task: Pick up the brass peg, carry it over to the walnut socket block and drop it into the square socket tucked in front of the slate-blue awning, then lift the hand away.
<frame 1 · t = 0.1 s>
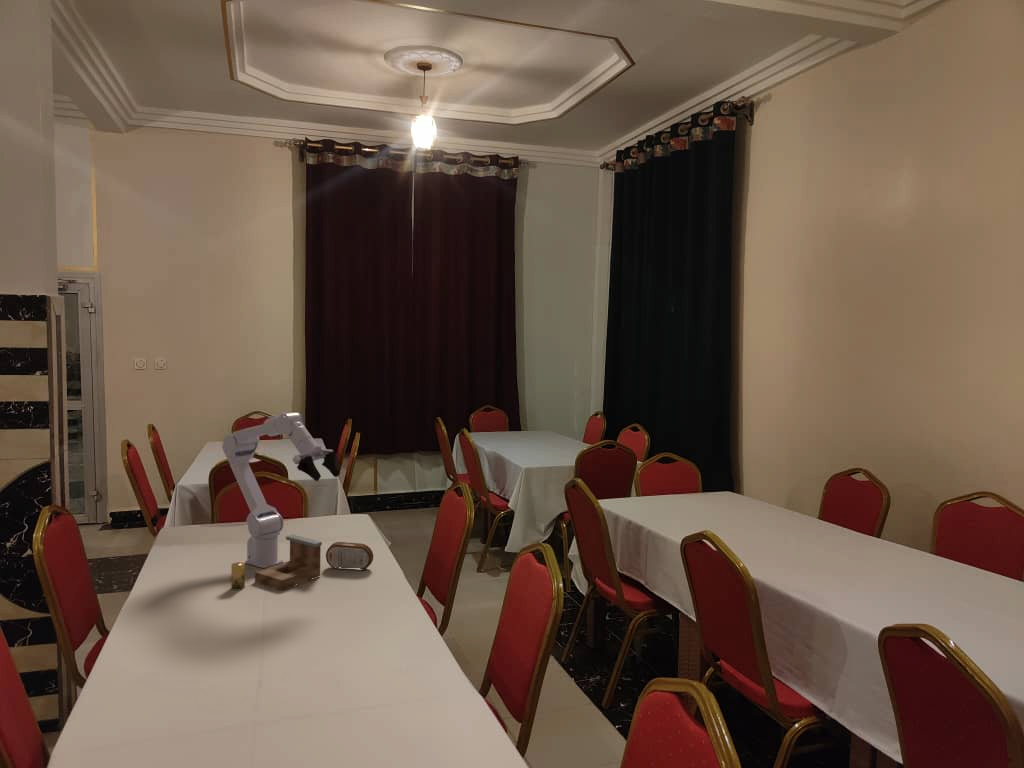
hand: (328, 477, 211), 32 cm above the table, tool tilted 50°, fingers open, 7 cm apart
peg: (237, 587, 206), on the table
tin: (349, 569, 225), on the table
socket block: (287, 579, 214), on the table
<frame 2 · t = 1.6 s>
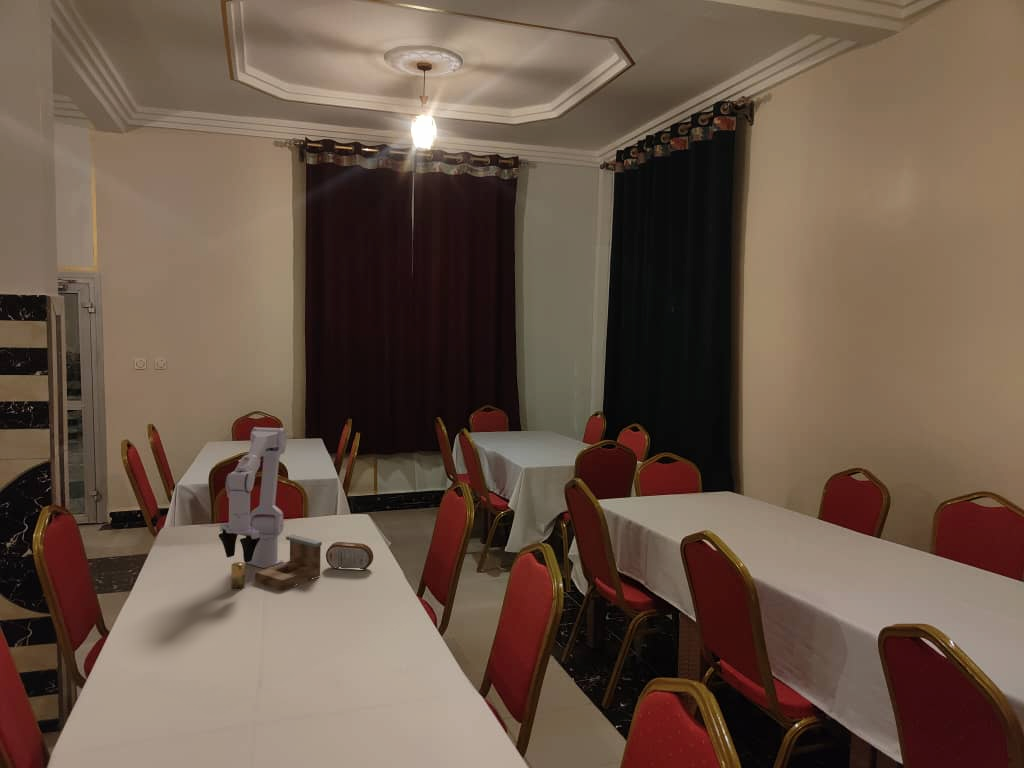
hand: (239, 558, 205), 9 cm above the table, tool pointing down, fingers open, 7 cm apart
nothing on the table moved.
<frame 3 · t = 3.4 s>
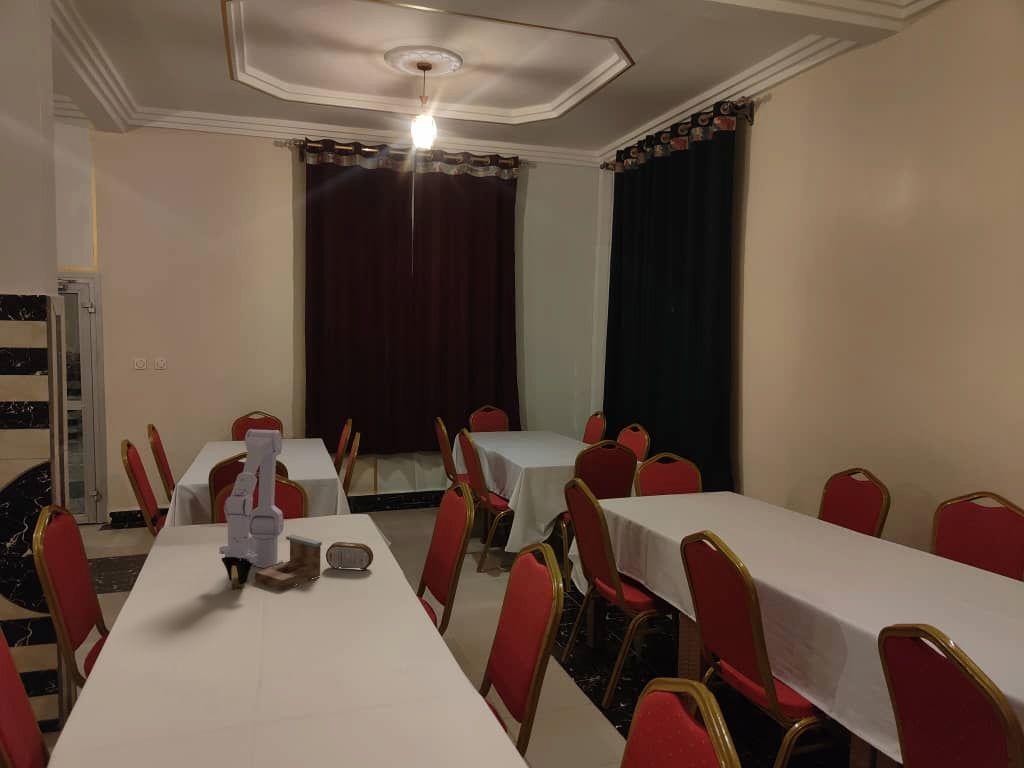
hand: (238, 581, 206), 2 cm above the table, tool pointing down, fingers closed on peg, 4 cm apart
peg: (237, 587, 206), on the table, touching gripper
everything else where it was.
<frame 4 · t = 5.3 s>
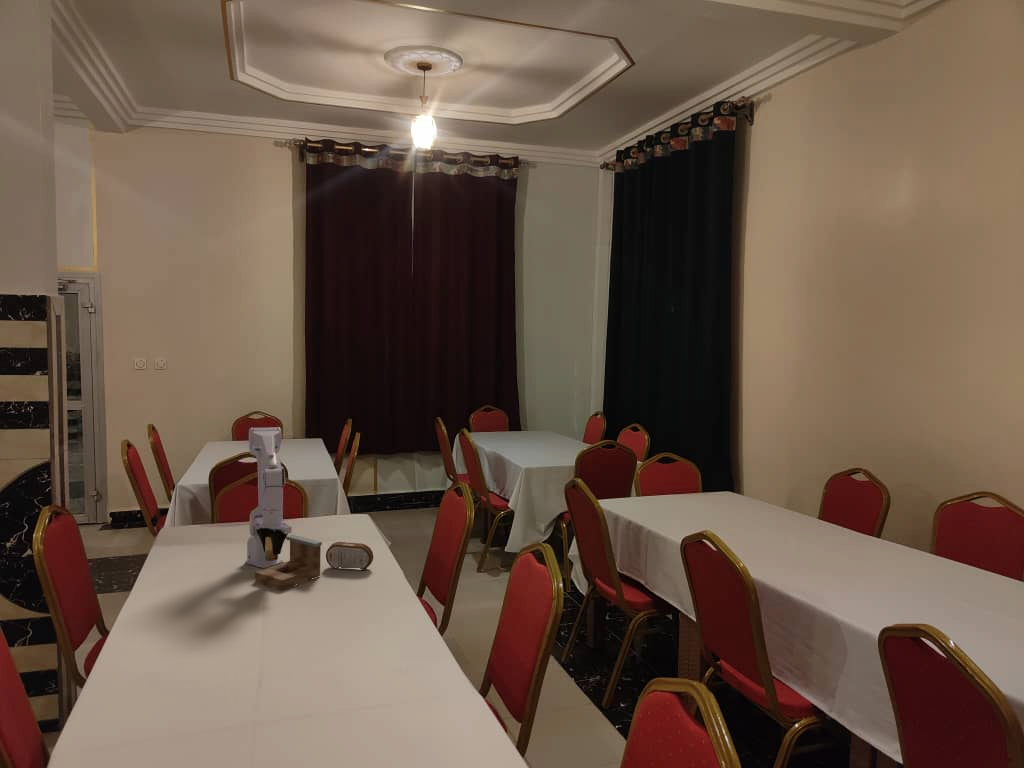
hand: (272, 553, 211), 9 cm above the table, tool pointing down, fingers closed on peg, 4 cm apart
peg: (271, 558, 211), point 7 cm above the table, touching gripper
everything else where it was.
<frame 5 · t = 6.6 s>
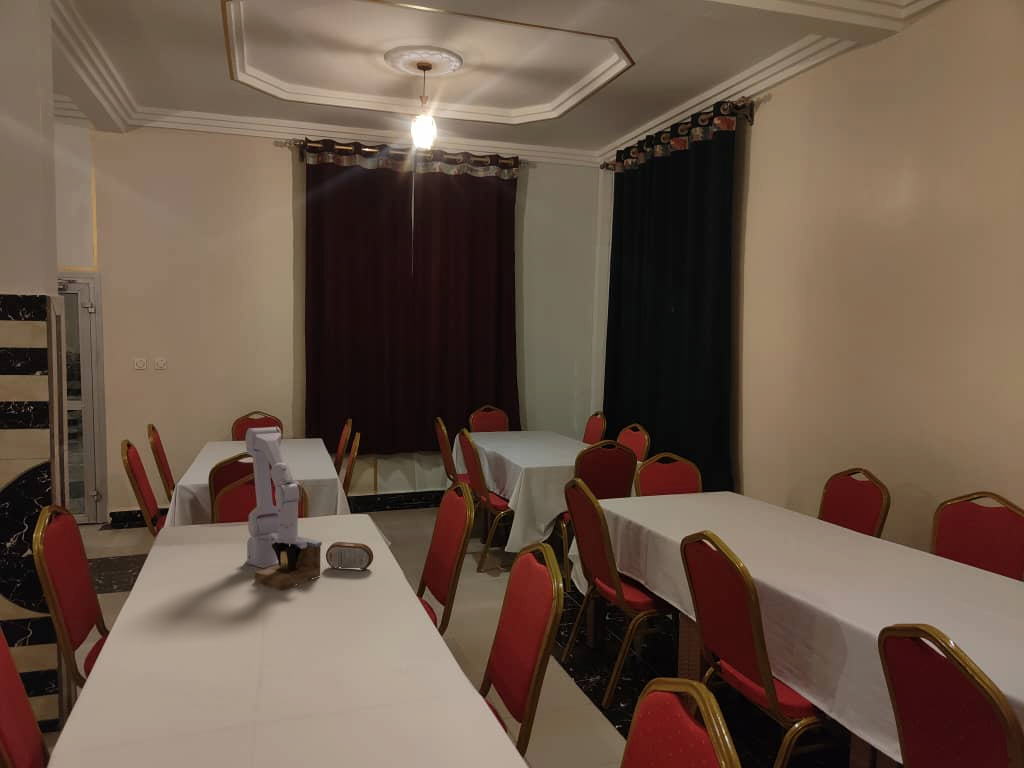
hand: (287, 567, 214), 4 cm above the table, tool pointing down, fingers closed on peg, 4 cm apart
peg: (286, 573, 214), point 2 cm above the table, touching gripper
everything else where it was.
when the fingers open (4 cm above the table, at t = 7.4 s): peg drops 2 cm, resting in socket block.
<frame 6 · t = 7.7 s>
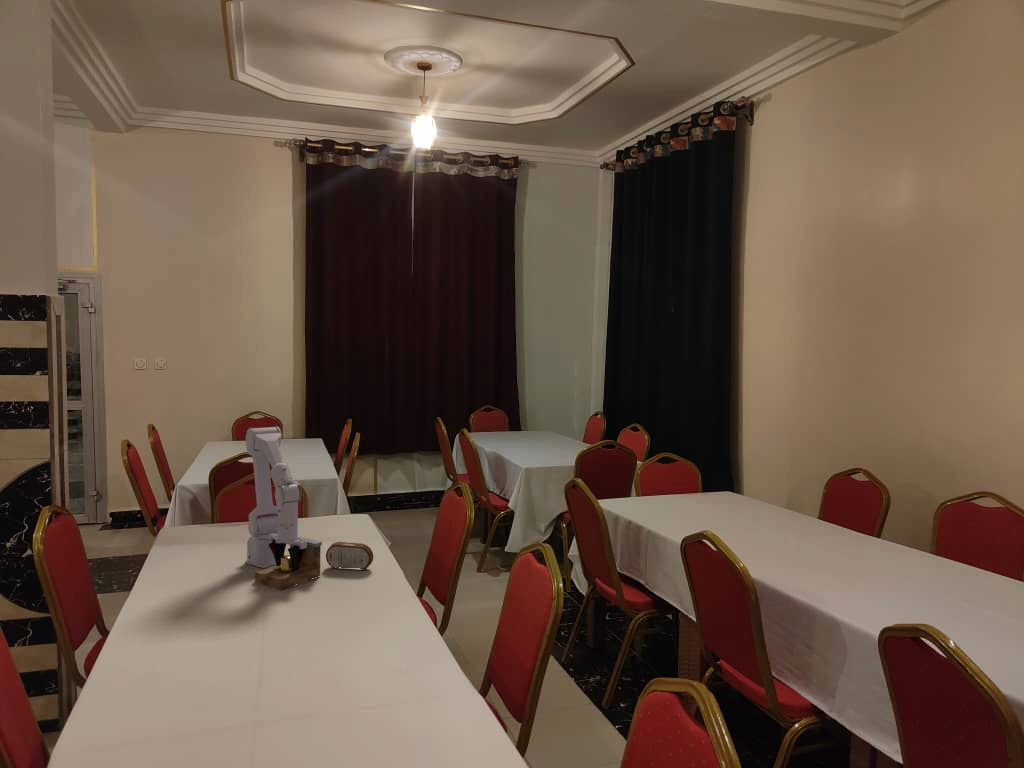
hand: (287, 567, 214), 4 cm above the table, tool pointing down, fingers open, 6 cm apart
peg: (286, 579, 214), resting in socket block
everything else where it was.
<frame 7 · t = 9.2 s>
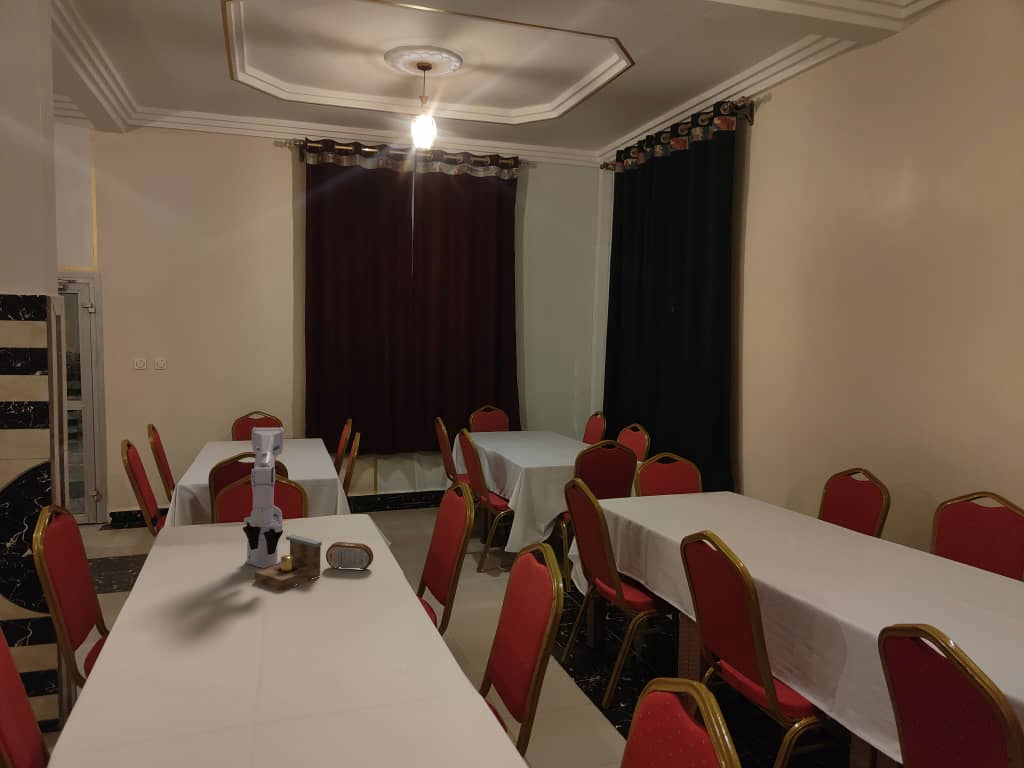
hand: (262, 551, 210), 9 cm above the table, tool pointing down, fingers open, 7 cm apart
nothing on the table moved.
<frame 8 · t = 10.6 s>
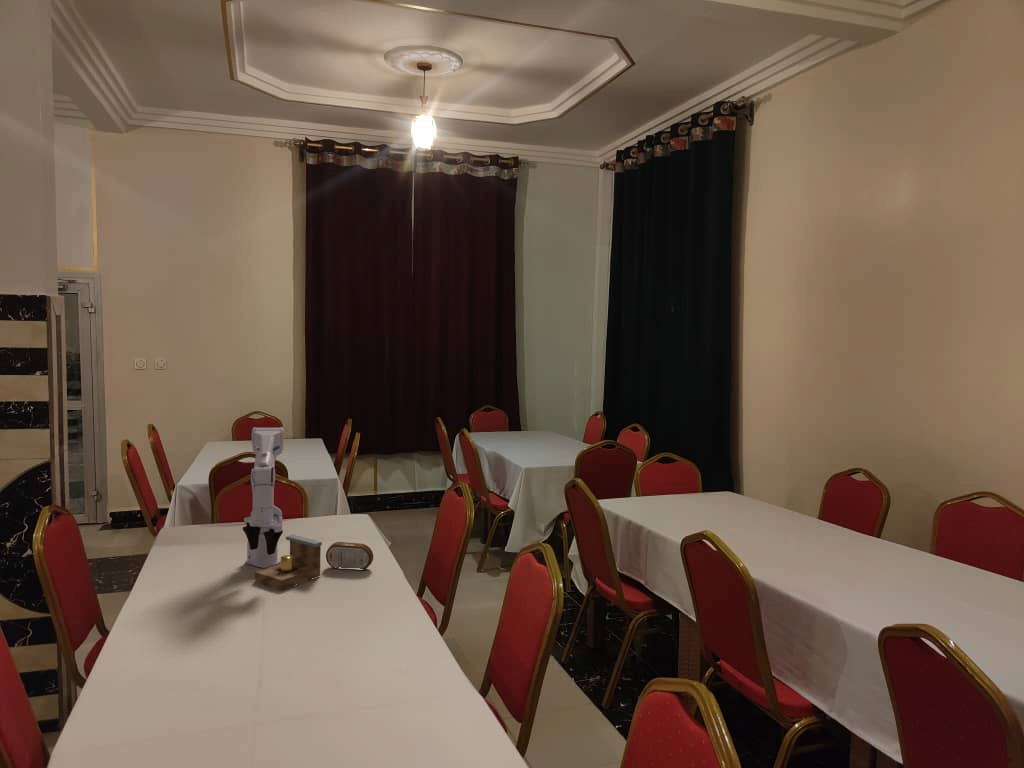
hand: (262, 551, 210), 9 cm above the table, tool pointing down, fingers open, 7 cm apart
nothing on the table moved.
at the end: peg 0.2 cm off-centre on the socket block, point 0.0 cm above the socket block's base; peg tilted 0°; the gripper is holding nothing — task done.
